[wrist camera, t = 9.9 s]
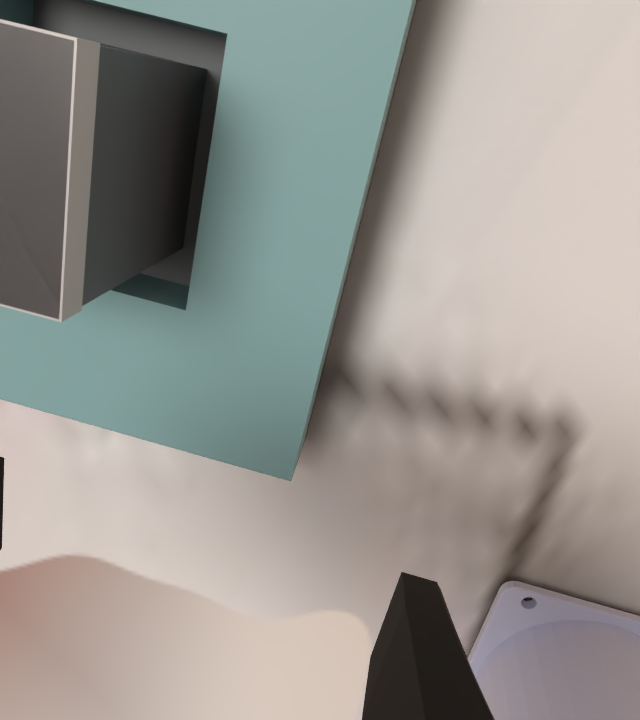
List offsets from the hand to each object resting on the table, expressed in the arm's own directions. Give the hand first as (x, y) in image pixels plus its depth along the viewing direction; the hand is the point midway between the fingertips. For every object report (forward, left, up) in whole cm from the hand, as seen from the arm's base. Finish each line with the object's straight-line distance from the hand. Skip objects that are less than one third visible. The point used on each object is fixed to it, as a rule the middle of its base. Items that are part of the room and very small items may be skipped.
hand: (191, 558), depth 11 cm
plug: (+6, -5, -9) cm, 12 cm away
